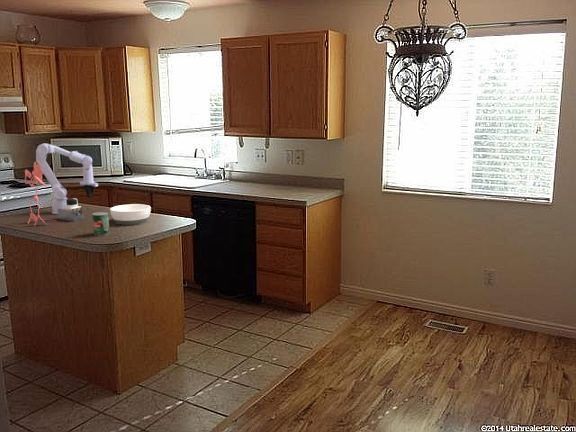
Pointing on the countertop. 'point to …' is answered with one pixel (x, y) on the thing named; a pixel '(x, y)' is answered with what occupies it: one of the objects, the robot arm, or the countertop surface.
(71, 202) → the medicine bottle
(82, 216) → the bracket
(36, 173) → the figurine
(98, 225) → the canned tomato
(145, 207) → the bowl
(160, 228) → the countertop surface
